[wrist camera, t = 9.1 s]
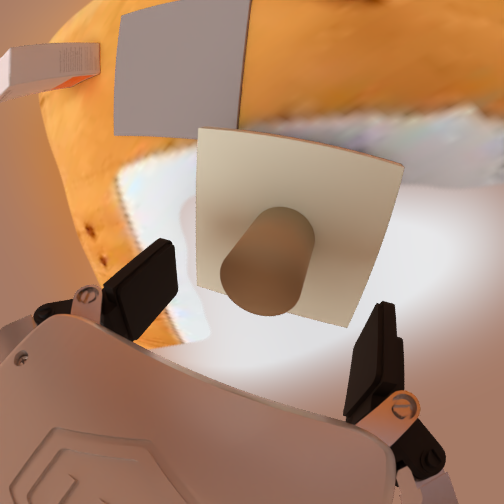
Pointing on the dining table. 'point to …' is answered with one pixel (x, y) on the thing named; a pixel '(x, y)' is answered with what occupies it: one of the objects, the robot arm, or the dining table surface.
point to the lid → (289, 222)
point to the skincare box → (46, 67)
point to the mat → (180, 68)
